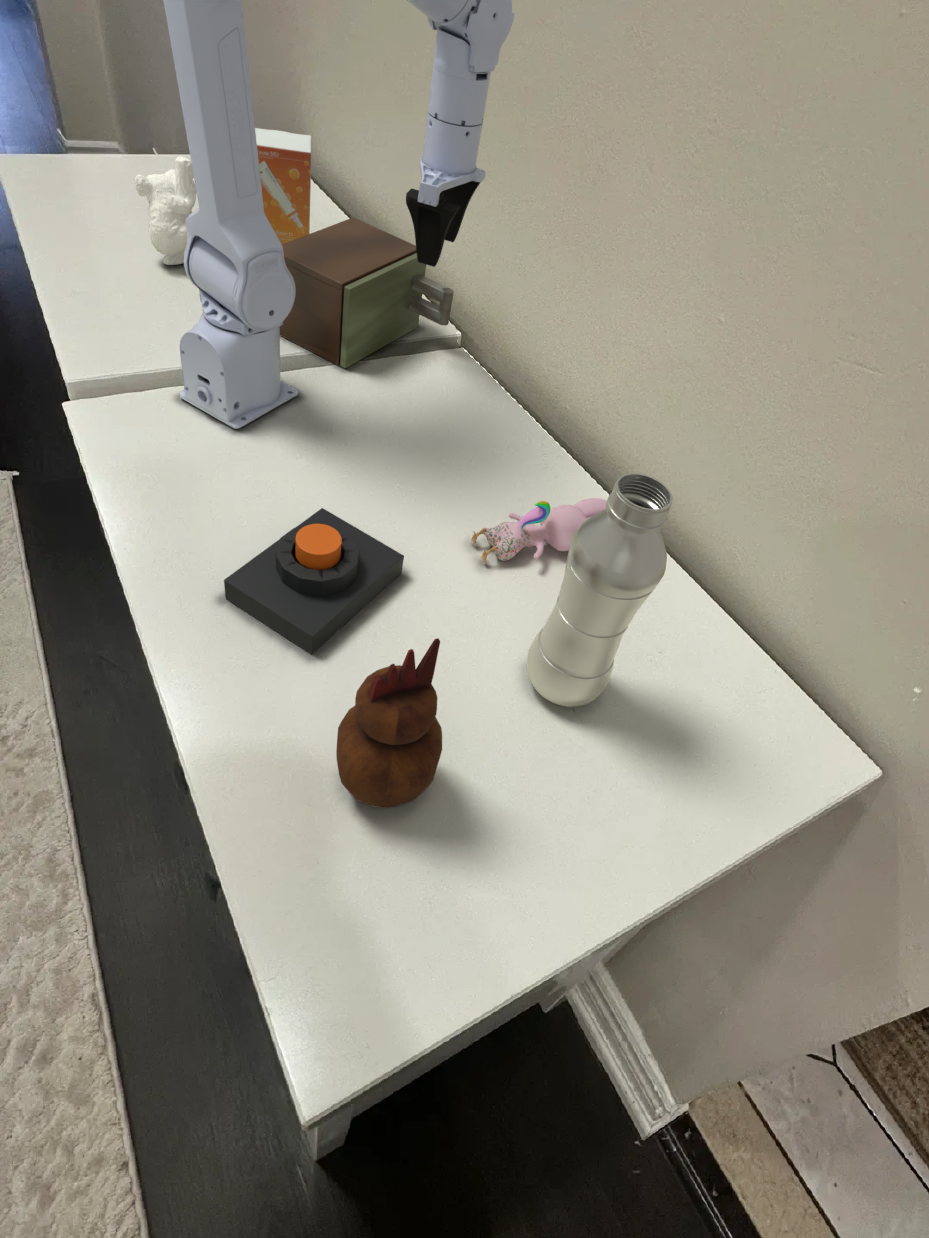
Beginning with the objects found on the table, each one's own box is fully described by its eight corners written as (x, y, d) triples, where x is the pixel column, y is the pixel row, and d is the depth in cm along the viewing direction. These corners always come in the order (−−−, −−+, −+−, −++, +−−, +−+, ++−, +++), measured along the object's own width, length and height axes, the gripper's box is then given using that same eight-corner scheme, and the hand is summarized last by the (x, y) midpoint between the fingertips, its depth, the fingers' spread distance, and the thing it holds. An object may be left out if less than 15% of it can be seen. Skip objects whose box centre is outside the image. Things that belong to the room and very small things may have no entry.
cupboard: (411, 324, 97) (421, 247, 90) (338, 366, 88) (342, 284, 81) (349, 294, 99) (353, 217, 92) (271, 331, 90) (269, 248, 83)
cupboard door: (452, 343, 95) (465, 269, 88) (382, 387, 86) (389, 308, 79) (413, 324, 97) (422, 249, 90) (339, 365, 88) (344, 286, 81)
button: (321, 577, 60) (321, 561, 59) (285, 555, 61) (285, 539, 60) (349, 553, 63) (350, 537, 61) (315, 533, 64) (315, 517, 62)
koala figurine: (208, 248, 101) (200, 147, 93) (220, 272, 98) (213, 169, 89) (140, 249, 98) (125, 145, 89) (150, 274, 94) (136, 168, 85)
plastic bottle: (549, 639, 65) (624, 445, 50) (615, 686, 63) (714, 497, 48) (504, 681, 61) (571, 484, 47) (572, 733, 59) (665, 543, 44)
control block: (311, 654, 60) (312, 621, 57) (225, 598, 62) (222, 563, 59) (401, 573, 67) (406, 540, 64) (321, 526, 70) (322, 491, 67)
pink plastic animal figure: (488, 588, 70) (634, 547, 73) (491, 542, 65) (646, 501, 69) (464, 542, 73) (603, 504, 77) (465, 495, 69) (613, 458, 72)
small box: (248, 251, 103) (244, 142, 93) (250, 230, 107) (246, 125, 97) (309, 257, 104) (311, 152, 95) (309, 237, 109) (311, 134, 99)
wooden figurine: (430, 749, 56) (465, 612, 45) (430, 822, 52) (468, 692, 41) (337, 743, 55) (348, 602, 44) (330, 817, 51) (341, 683, 40)
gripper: (474, 146, 73) (452, 285, 83) (508, 110, 83) (485, 238, 93) (405, 126, 74) (391, 267, 84) (446, 93, 83) (429, 222, 93)
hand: (436, 251), depth 88 cm, fingers open, 7 cm apart
